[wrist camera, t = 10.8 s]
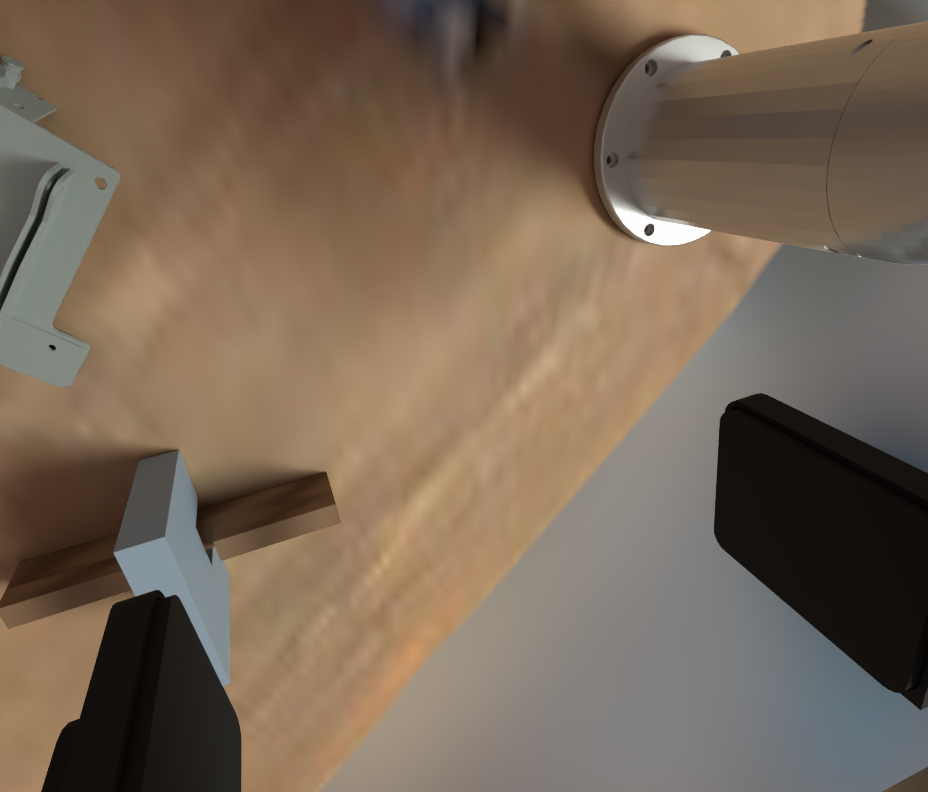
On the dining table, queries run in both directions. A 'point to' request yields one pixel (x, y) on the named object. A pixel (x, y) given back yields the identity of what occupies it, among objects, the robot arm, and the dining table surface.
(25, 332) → the metal bracket
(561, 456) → the dining table surface
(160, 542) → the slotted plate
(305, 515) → the walnut board
